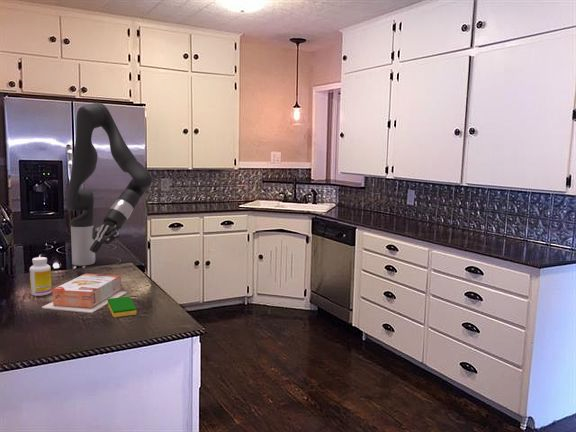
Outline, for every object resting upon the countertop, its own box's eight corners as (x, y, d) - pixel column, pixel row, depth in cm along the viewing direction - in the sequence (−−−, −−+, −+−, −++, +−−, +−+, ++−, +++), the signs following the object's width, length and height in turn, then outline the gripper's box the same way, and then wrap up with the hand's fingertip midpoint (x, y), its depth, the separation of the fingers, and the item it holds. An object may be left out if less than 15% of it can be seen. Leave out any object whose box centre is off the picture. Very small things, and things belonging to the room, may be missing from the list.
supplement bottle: (56, 292, 173) (54, 257, 171) (39, 297, 167) (38, 261, 166) (43, 289, 176) (41, 255, 174) (26, 294, 170) (24, 259, 168)
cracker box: (121, 273, 176) (91, 291, 155) (121, 289, 177) (92, 309, 156) (85, 272, 178) (51, 288, 157) (85, 287, 178) (52, 306, 158)
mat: (82, 289, 178) (82, 287, 178) (127, 293, 175) (126, 291, 175) (41, 308, 157) (41, 307, 157) (91, 313, 154) (91, 311, 154)
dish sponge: (113, 318, 151) (113, 311, 150) (107, 305, 163) (107, 298, 162) (136, 315, 154) (136, 308, 153) (129, 302, 166) (129, 296, 166)
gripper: (100, 206, 182) (73, 243, 174) (125, 209, 176) (98, 247, 167) (112, 218, 188) (86, 254, 179) (136, 221, 182) (111, 259, 173)
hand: (92, 251), depth 173 cm, fingers closed
